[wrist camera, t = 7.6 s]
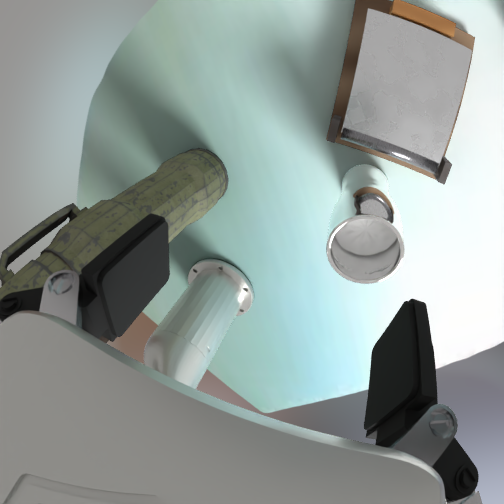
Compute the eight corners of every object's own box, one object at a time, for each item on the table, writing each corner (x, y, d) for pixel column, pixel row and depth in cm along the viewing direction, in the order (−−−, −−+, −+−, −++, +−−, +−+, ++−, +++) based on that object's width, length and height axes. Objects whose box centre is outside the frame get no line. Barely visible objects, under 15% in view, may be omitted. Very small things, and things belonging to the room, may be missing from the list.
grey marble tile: (432, 171, 26) (435, 176, 25) (340, 136, 28) (339, 140, 27) (468, 50, 17) (473, 50, 16) (367, 10, 19) (368, 7, 18)
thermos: (211, 221, 45) (50, 411, 18) (160, 167, 42) (-34, 316, 16) (248, 188, 40) (56, 416, 13) (191, 128, 37) (-55, 280, 10)
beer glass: (332, 165, 34) (315, 219, 22) (387, 156, 31) (403, 207, 19) (344, 215, 37) (332, 288, 25) (395, 208, 34) (408, 282, 22)
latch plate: (433, 175, 29) (444, 193, 25) (327, 137, 32) (321, 147, 28) (470, 38, 18) (489, 33, 13) (357, -5, 20) (356, -21, 16)
